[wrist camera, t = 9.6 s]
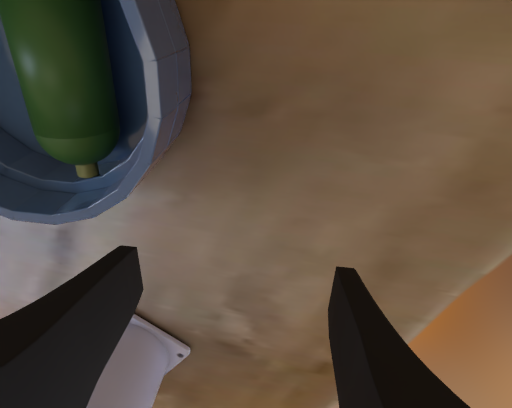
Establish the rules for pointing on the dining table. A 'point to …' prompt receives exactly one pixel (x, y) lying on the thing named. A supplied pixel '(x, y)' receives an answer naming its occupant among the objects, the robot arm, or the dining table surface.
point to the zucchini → (65, 77)
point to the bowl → (129, 110)
